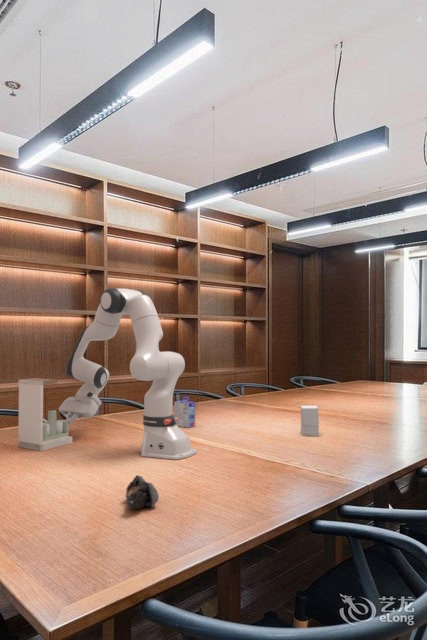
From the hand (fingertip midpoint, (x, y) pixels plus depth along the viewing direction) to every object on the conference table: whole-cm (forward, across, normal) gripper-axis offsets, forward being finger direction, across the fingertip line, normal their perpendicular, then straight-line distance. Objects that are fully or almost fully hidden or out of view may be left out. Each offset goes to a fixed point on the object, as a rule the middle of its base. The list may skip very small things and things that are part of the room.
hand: (68, 422), depth 203 cm
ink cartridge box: (-30, +27, +41) cm, 57 cm away
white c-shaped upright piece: (+13, 0, -3) cm, 14 cm away
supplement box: (-40, +87, +51) cm, 108 cm away
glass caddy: (+9, 0, -2) cm, 10 cm away
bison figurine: (+36, +78, -25) cm, 90 cm away
